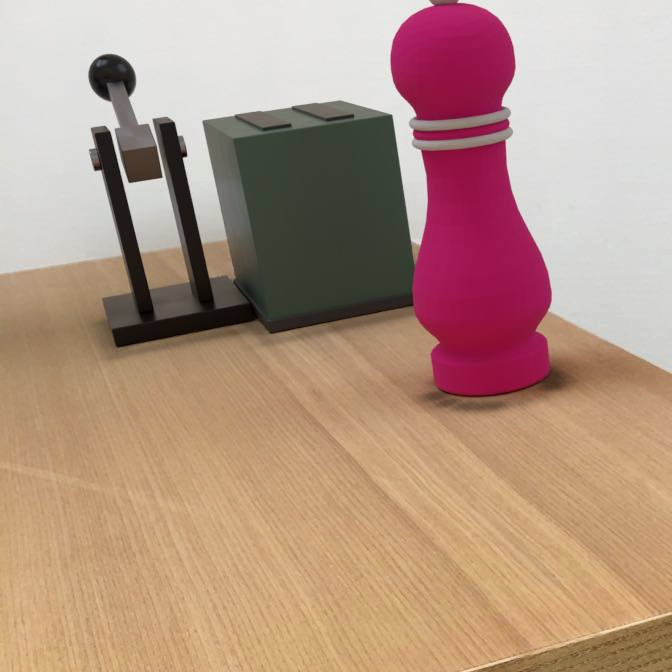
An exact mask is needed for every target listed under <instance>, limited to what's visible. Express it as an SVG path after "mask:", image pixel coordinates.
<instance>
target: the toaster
mask: <svg viewBox="0 0 672 672" xmlns="http://www.w3.org/2000/svg"><path fill="white" fill-rule="evenodd" d="M201 123H202V128H203V131H204V136H205V137H204V138H205V140H206V142H205V143H206V144H207V145H206V146H207V151H208V156H209V160H210V165H211V169H212V174H213V179H214V183H215V189H216V193H217V198H218V202H219V208H220V212H221V217H222V222H223V226H224V230H225V235H226V241H227V246H228V251H229V255H230V259H231V264H232V269H233V273H234V274H233V275H234V277H235V278H233V279H232V282H233V283H234V284H235V285H236V286H237V288H238V289H239V290H240V291H241V293H242V294H243V295H244V296H245V297H246V299H247V300H248V301H249V302H250V304H251V309H252V313H253V315H255V316H256V318H257V319H258V320H259V321H260V323H261V324H262V325H263V327H264V328H265V329H266V330H267V331H268V333H269V334H272V333H278V332H283V331H288V330H293V329H298V328H303V327H307V326H313V325H318V324H323V323H327V322H334V321H338V320H343V319H348V318H352V317H358V316H362V315H367V314H373V313H379V312H382V311H388V310H393V309H398V308H403V307H408V306H414V302H413V280H414V271H415V265H416V263H415V258H414V250H413V244H412V238H411V231H410V224H409V217H408V210H407V204H406V196H405V190H404V189H405V188H404V183H403V176H402V169H401V164H400V163H401V162H400V156H399V150H398V149H399V148H398V143H397V135H396V129H395V123H394V115H393V114H392V113H388V112H384V111H380V110H377V109H373V108H370V107H366V106H363V105H359V104H355V103H351V102H348V101H344V100H333V101H326V102H311V103H304V104H298V105H297V104H296V105H292V106H291V107H284V108H278V109H271V110H265V111H263V110H257V111H250V112H243V113H236V114H235V113H234V115H229V116H223V117H216V118H210V119H209V118H208V119H203V120H202V121H201Z"/></svg>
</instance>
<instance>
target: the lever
mask: <svg viewBox="0 0 672 672" xmlns="http://www.w3.org/2000/svg"><path fill="white" fill-rule="evenodd" d="M87 79H88V83H89V85H90V88H91V89H92V92H94V93H95V95H96V96H97V97H99V98H100V99H102V100H103V101H106V102H109V103H111V104H112V108H113V110H114V114H115V116H116V120H117V123H118V126H119V127H115V128H114V134H115V139H116V144H117V149H118V152H119V157H120V162H121V164H122V167H123V170H124V173H125V176H126V180H127V182H128V184H133V183H141V182H145V181H146V182H147V181H152V180H158V179H159V180H160V179H163V177H164V176H163V171H162V167H161V166H162V165H161V160H160V155H159V149H158V144H157V143H156V142H157V141H156V140H155V137H154V134H153V131H152V129H151V126H150V124H149V123H141V124H139V123H138V119H137V117H136V114H135V111H134V108H133V105H132V103H131V100H130V97H131V96H132V95H133V94H134V92H135V90H136V88H137V75H136V71H135V69H134V67H133V65H132V64H131V63H130V62H129V61H128V60H127V59H126V58H124V57H122V56H121V55H118V54H115V53H104V54H101V55H99V56H97V57H96V58H94V59H93V60H92V61H91V63H90V65H89V68H88V73H87Z"/></svg>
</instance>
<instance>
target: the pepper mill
mask: <svg viewBox="0 0 672 672" xmlns="http://www.w3.org/2000/svg"><path fill="white" fill-rule="evenodd" d="M428 1H429V2H430V3H431V4H432V5H431V6H429V7H428V6H427V7H424V8H422V9H420V10H418V11H417V12H415V13H413V14H411V15H410V16H409V17H408V18H407V19H405V20H404V21H403V22H402V23H401V24H400V26H399V28H398V30H397V31H396V32H395V35H394V37H393V39H392V41H391V42H392V43H391V49H390V55H389V57H390V58H389V60H390V61H389V62H390V73H391V78H392V82H393V85H394V87H395V89H396V91H397V92H398V93H399V95H400V97H402V98H403V99H404V100H405V101H406V102H407V103H408V104H409V105H410V106H411V108H412V109H413V111H414V113H415V116H412V118H410V119H409V121H408V126H409V128H411V129H412V136H413V138H412V140H411V145H412V147H413V148H414V149H417V150H419V151H420V152H421V157H422V158H421V159H422V162H423V166H424V171H425V179H426V194H427V195H426V196H427V204H426V206H427V207H426V216H425V223H424V228H423V233H422V237H421V241H420V246H419V249H418V254H417V256H416V257H417V258H416V262H415V271H414V280H413V302H414V305H413V311H414V315H415V318H416V319H417V321H418V322H419V324H420V325H421V326H422V328H424V330H426V331H427V332H428V333H429V334H430V335H431V336H432V337H434V338H435V339H436V340H437V342H439V343H438V344H436V345H435V346H434V347H433V348H432V349H431V352H430V360H431V361H430V362H431V367H432V368H431V369H432V375H433V381H434V384H435V386H436V387H437V388H439V389H440V390H441V391H444V392H446V393H449V394H453V395H460V396H492V395H499V394H505V393H510V392H515V391H519V390H522V389H525V388H529V387H530V386H532V385H535V384H537V383H539V382H541V381H542V380H543V379H544V378H546V377H547V376H548V375H549V374H550V371H551V362H550V360H551V359H550V353H549V352H550V351H549V344H548V338H547V337H546V336H545V335H544V334H543V333H541V332H539V331H537V329H538V327H539V326H540V325H541V322H542V321H543V319H544V318H545V316H547V313H548V312H549V310H550V308H551V304H552V302H553V301H552V298H553V292H552V286H551V285H552V284H551V280H550V274H549V270H548V268H547V265H546V262H545V260H544V257H543V255H542V252H541V250H540V248H539V247H538V244H537V242H536V241H535V238H534V237H533V235H532V233H531V232H530V229H529V227H528V226H527V224H526V221H525V220H524V218H523V216H522V214H521V211H520V209H519V207H518V204H517V201H516V198H515V195H514V192H513V189H512V183H511V180H510V179H511V178H510V174H509V170H508V161H507V158H508V157H507V140H508V139H510V138H511V137H512V136H513V134H514V130H513V128H512V127H511V126H510V125H511V123H510V122H511V121H510V120H509V118H510V117H511V115H512V110H511V108H509V107H507V106H503V100H504V97H505V94H506V93H507V91H508V89H509V88H510V86H511V84H512V83H513V80H514V77H515V74H516V68H517V64H516V55H515V47H514V44H513V40H512V37H511V35H510V33H509V30H508V29H507V28H506V26H505V25H504V23H503V22H502V21H501V19H500V18H499V17H498V16H497V15H495V14H494V13H493V12H491V11H489V10H488V9H486V8H484V7H481V6H479V5H476V4H472V3H467V2H459V1H460V0H428Z"/></svg>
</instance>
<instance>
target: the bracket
mask: <svg viewBox="0 0 672 672" xmlns="http://www.w3.org/2000/svg"><path fill="white" fill-rule="evenodd" d="M152 125H153V128H154V129H153V130H154V133H155V137H156V142H157V147H158V152H159V154H160V155H159V156H160V158H161V163H162V168H163V172H164V176H165V181H166V185H167V190H168V194H169V198H170V202H171V203H170V204H171V207H172V212H173V216H174V221H175V224H176V229H177V233H178V239H179V243H180V247H181V252H182V255H183V261H184V264H185V269H186V272H187V278H188V281H187V282H182V283H177V284H171V285H166V286H161V287H160V286H159V287H154V288H150V287H149V283H148V279H147V275H146V272H145V267H144V263H143V259H142V255H141V254H142V253H141V250H140V246H139V243H138V238H137V234H136V230H135V226H134V222H133V217H132V213H131V209H130V206H129V201H128V197H127V192H126V189H125V185H124V181H123V177H122V172H121V168H120V164H119V159H118V156H117V152H116V147H115V144H114V140H113V135H112V132H111V130H110V129H109V128H108V127H107V125H100V126H92V127H90V132H91V136H92V141H93V144H94V147H93V148H89V149H88V153H89V158H90V161H91V165H92V170H93V171H94V172H100V173H101V176H102V181H103V184H104V187H105V188H104V189H105V192H106V196H107V201H108V205H109V208H110V211H111V216H112V220H113V225H114V228H115V232H116V236H117V240H118V244H119V249H120V252H121V256H122V260H123V264H124V269H125V272H126V276H127V280H128V283H129V288H130V292H127V293H123V294H118V295H112V296H111V295H110V296H106V297H102V298H101V301H102V305H103V309H104V313H105V316H106V318H107V322H108V325H109V329H110V332H111V335H112V339H113V342H114V345H115V347H118V348H119V347H123V346H128V345H132V344H138V343H143V342H148V341H154V340H157V339H158V340H159V339H163V338H168V337H174V336H179V335H184V334H188V333H194V332H199V331H204V330H209V329H214V328H220V327H225V326H231V325H235V324H240V323H246V322H251V321H254V313H253V311H252V309H251V304H250V302H249V301H248V300H247V299H246V297H245V296H244V295H243V294H242V293H241V291H240V290H239V289H238V288H237V286H236V285H235V284H234V283H233V279H231V278H230V277H229V275H228V274H226V275H220V276H214V277H210V276H209V270H208V265H207V261H206V256H205V252H204V248H203V243H202V239H201V234H200V229H199V224H198V221H197V216H196V215H197V214H196V212H195V207H194V201H193V198H192V193H191V189H190V184H189V179H188V175H187V171H186V170H187V169H186V166H185V161H184V158H188V150H187V145H186V141H185V138H184V135H182V134H181V135H179V134H178V130H177V125H176V122H175V121H174V120H173V119H171V118H170V117H169V116H161V117H154V118H152Z"/></svg>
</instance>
